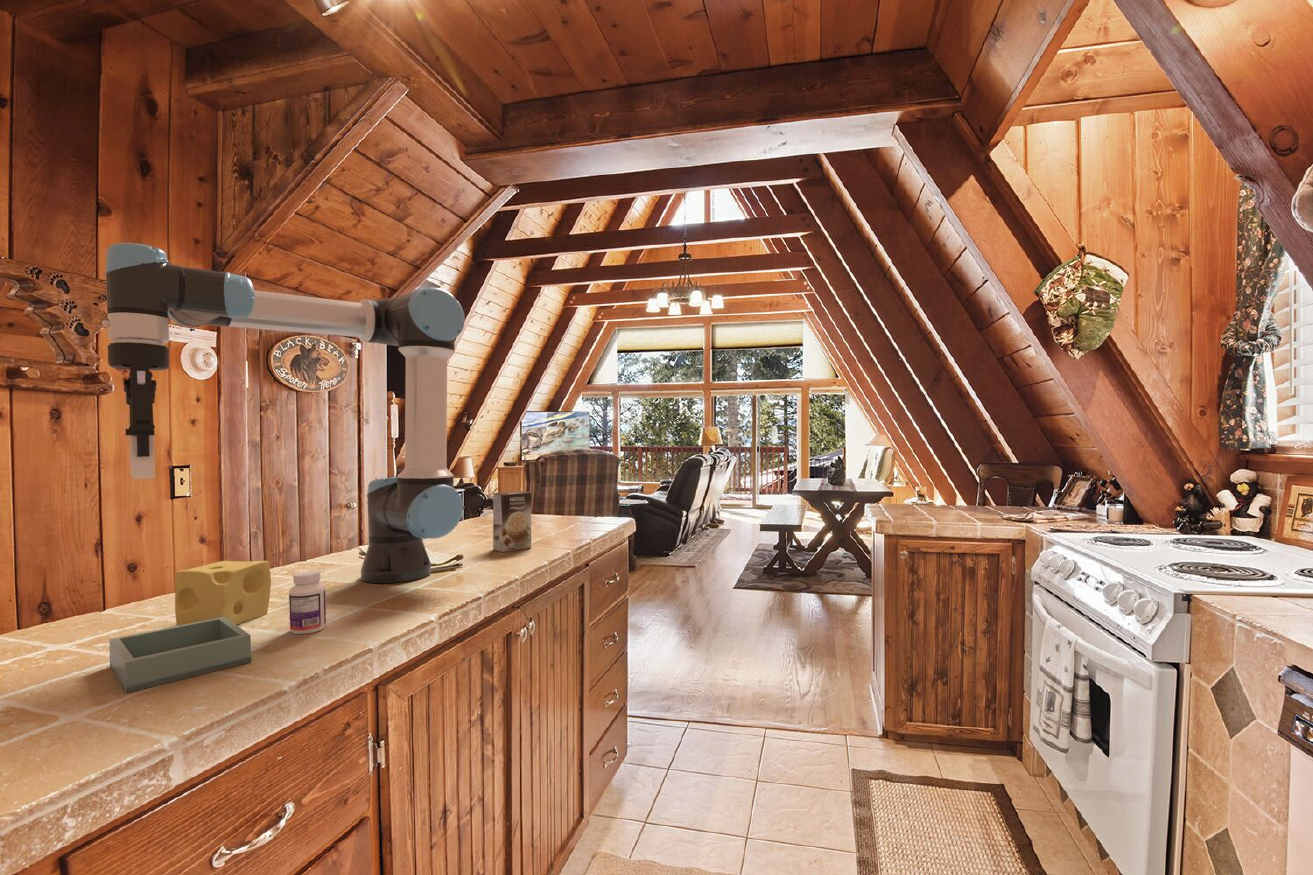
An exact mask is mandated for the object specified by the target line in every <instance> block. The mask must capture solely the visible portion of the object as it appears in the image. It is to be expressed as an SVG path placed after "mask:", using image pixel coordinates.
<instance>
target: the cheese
mask: <svg viewBox="0 0 1313 875" xmlns="http://www.w3.org/2000/svg"><path fill="white" fill-rule="evenodd" d="M270 568H271V567H270V562H269V561H268V560H255V561H254V560H253V561H252V560H251V561H236V560H235V561H234V560H233V561H232V560H221V561H216V562H213V563H212V562H211V563H209V564H205V565H204V564H203V565H201V566H195V567H191V568H188V569H182V570H178V571H175V573H174V607H175V608H174V611H175V622H176V626H179V625H184V624H189V623H195V622H200V621H205V620H210V619H215V618H220V617H226V618H227V619H229V620H230V621H231V622H233V623H234V624H236V625H237V626H238V625H239V624H242V623H245V622H248V621H251V620H253V619H257V618H260V617H263V616H266V615H267V614H268V610H269V606H270V605H269V603H270V598H271V587H272V577H271V569H270Z"/></svg>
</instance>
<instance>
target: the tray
mask: <svg viewBox="0 0 1313 875" xmlns="http://www.w3.org/2000/svg"><path fill="white" fill-rule="evenodd" d="M251 636H252V635H251V634H250V633H249V632H247V631H245V630H244V629H242V628H241V627H240V626H238V624H237V625H236V624H234V623H233V622H231V621H230V620H229V619H227V618H226V617H220V618H215V619H210V620H205V621H200V622H195V623H189V624H184V625H179V626H177V625H174V626H169V627H165V628H159V629H155V630H154V629H153V630H149V631H144V632H143V631H142V632H138V633H133V634H129V635H123V636H117V637H114V638H113V637H112V638H109V639H108V640H109V668H110V669H111V671H112V672H113V675H114V676H115V678H116V679H117V681H118V683H119V684H120V686H121V688H122V689H123V690H124V692H125V694H129V693H133V692H136V691H141V690H144V689H147V688H148V689H150V688H152V687H157V686H161V685H165V684H168V683H172V682H177V681H181V680H186V679H189V678H193V677H197V676H202V675H206V674H209V673H213V672H218V671H222V670H226V669H230V668H234V667H236V666H242V665H245V664H249V663H250V664H251V662H252V642H251Z"/></svg>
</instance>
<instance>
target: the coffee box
mask: <svg viewBox="0 0 1313 875" xmlns="http://www.w3.org/2000/svg"><path fill="white" fill-rule="evenodd" d="M492 499H493V500H492V507H493V508H492V509H493V510H492V526H493V527H492V529H493V530H492V549H493V550H494V551H498V552H502V553H505V552H513V551H520V550H521V549H522V550H528V549H527V548H529V549H532V492H530V491H529V492H527V491H509V492H493V495H492Z"/></svg>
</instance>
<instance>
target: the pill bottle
mask: <svg viewBox="0 0 1313 875" xmlns="http://www.w3.org/2000/svg"><path fill="white" fill-rule="evenodd" d="M292 579H293V584H294V586H293V587H291V588H290V589H289V591H288V601H289V602H288V604H289V632H290V633H291V634H293V635H307V634H313V633H317V632H320V631H322V630H324V629H325V628H326V626H327V611H326V610H327V608H326V606H327V605H326V586H325V585H324V584H323V583H322V582H320V581H321V571H320V570H304V571H299V572H296V573H294V574H293V578H292Z"/></svg>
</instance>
